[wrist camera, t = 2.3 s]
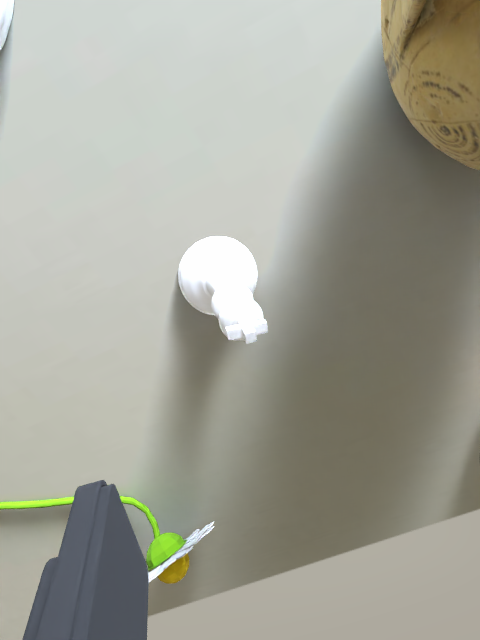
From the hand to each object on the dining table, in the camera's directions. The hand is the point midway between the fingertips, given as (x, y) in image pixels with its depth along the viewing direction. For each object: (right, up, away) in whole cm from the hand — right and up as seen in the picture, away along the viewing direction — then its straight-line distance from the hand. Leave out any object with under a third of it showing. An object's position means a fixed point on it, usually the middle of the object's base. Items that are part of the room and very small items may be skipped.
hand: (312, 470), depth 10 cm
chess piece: (-3, +7, +16) cm, 17 cm away
